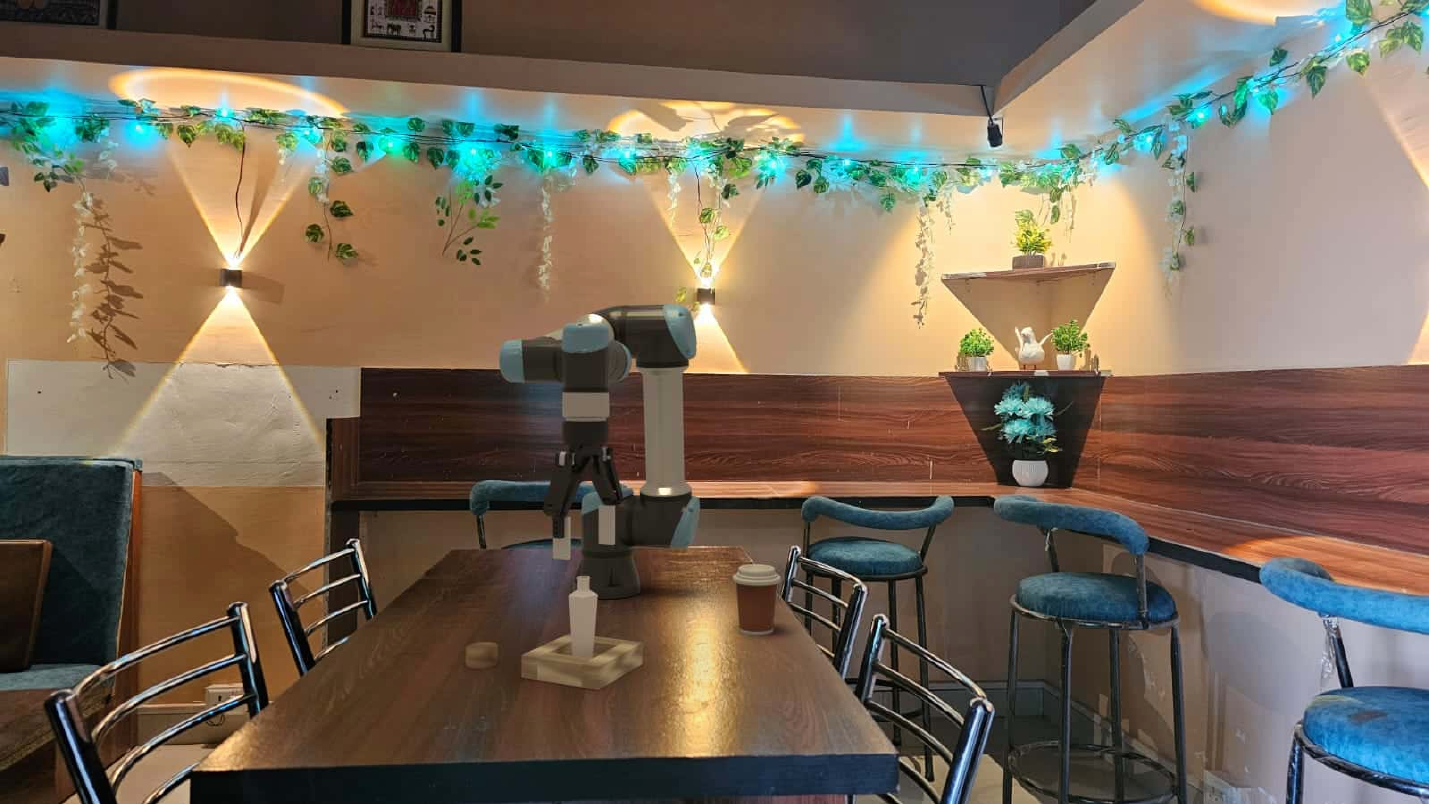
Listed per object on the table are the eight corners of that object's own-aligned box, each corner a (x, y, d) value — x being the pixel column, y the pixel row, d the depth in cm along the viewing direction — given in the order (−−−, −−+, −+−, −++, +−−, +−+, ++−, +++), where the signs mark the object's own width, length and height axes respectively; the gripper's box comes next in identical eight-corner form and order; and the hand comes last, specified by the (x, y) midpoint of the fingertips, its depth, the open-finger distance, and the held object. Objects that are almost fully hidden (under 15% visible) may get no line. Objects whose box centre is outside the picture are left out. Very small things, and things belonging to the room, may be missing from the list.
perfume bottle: (592, 676, 133) (592, 580, 133) (565, 674, 134) (566, 579, 134) (601, 667, 138) (602, 575, 138) (575, 665, 138) (576, 573, 138)
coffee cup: (755, 640, 154) (756, 574, 154) (722, 629, 161) (722, 566, 161) (790, 631, 160) (790, 568, 160) (756, 621, 167) (757, 561, 167)
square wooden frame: (570, 653, 145) (570, 633, 145) (642, 663, 139) (642, 642, 139) (521, 677, 132) (521, 655, 132) (598, 690, 127) (598, 666, 127)
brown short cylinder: (479, 658, 142) (479, 640, 142) (503, 662, 140) (503, 644, 140) (459, 667, 137) (459, 648, 137) (484, 671, 135) (484, 652, 135)
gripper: (605, 416, 149) (604, 536, 149) (519, 421, 126) (519, 563, 126) (642, 417, 146) (642, 540, 146) (562, 422, 123) (561, 568, 123)
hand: (585, 551), depth 136 cm, fingers open, 13 cm apart
